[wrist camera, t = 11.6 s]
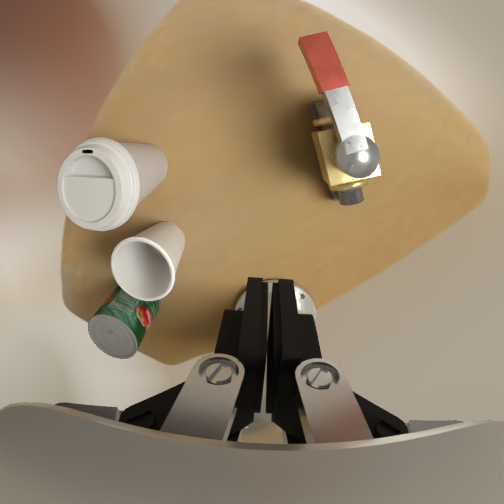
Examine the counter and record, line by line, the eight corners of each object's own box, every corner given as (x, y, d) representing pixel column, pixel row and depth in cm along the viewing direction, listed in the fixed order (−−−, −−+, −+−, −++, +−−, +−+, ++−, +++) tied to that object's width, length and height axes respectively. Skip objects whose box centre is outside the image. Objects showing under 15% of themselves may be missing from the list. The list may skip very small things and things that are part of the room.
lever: (330, 35, 23) (334, 29, 21) (377, 169, 28) (384, 172, 26) (290, 45, 24) (291, 39, 22) (340, 180, 29) (345, 184, 27)
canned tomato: (166, 316, 47) (144, 360, 37) (126, 317, 48) (101, 357, 38) (153, 274, 44) (124, 314, 34) (112, 278, 45) (79, 314, 35)
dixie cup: (203, 256, 42) (186, 292, 33) (156, 272, 44) (131, 308, 35) (179, 203, 39) (153, 227, 30) (131, 224, 41) (98, 251, 32)
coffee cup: (190, 151, 36) (146, 164, 23) (161, 211, 40) (111, 254, 26) (132, 122, 35) (67, 124, 21) (108, 182, 38) (43, 211, 25)
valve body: (366, 191, 37) (389, 207, 30) (325, 201, 38) (339, 219, 31) (345, 97, 32) (364, 90, 25) (301, 106, 33) (310, 99, 26)
